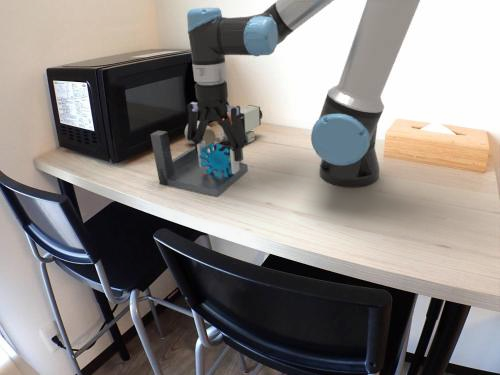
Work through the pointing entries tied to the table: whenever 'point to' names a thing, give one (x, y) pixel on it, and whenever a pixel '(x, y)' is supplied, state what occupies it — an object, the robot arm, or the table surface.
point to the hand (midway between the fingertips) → (219, 168)
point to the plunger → (224, 137)
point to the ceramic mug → (206, 135)
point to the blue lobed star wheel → (216, 160)
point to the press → (190, 168)
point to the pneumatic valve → (250, 120)
